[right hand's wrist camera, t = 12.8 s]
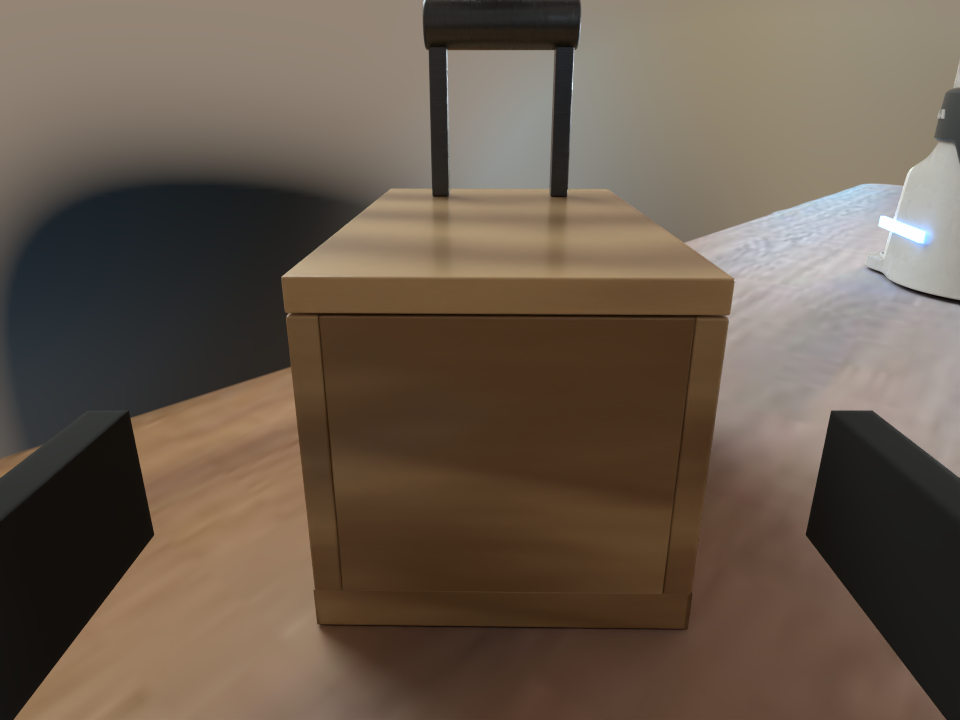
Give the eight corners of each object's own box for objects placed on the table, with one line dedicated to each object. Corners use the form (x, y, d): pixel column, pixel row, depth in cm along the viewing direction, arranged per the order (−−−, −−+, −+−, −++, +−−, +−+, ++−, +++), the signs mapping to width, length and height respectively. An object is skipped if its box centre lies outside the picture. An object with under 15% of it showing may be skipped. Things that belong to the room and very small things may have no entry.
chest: (396, 390, 33) (387, 211, 30) (598, 391, 33) (610, 212, 30) (317, 624, 18) (284, 316, 15) (687, 628, 18) (731, 318, 15)
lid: (391, 207, 31) (382, 7, 28) (607, 208, 31) (620, 7, 28) (284, 313, 15) (237, -125, 12) (730, 316, 15) (793, -128, 12)
